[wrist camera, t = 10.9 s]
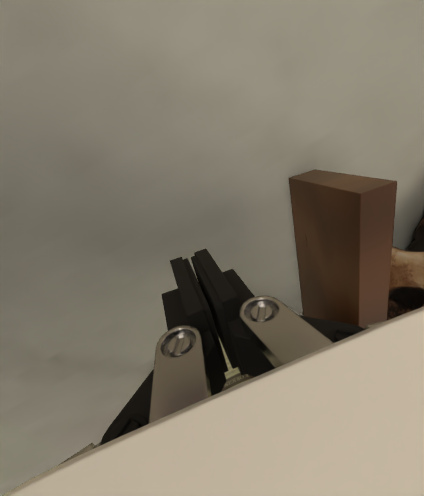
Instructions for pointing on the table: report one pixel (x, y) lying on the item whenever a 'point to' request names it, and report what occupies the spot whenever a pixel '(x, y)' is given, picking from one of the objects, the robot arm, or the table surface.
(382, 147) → the table surface
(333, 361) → the robot arm
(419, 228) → the ivory skull
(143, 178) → the table surface
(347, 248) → the corner rails
